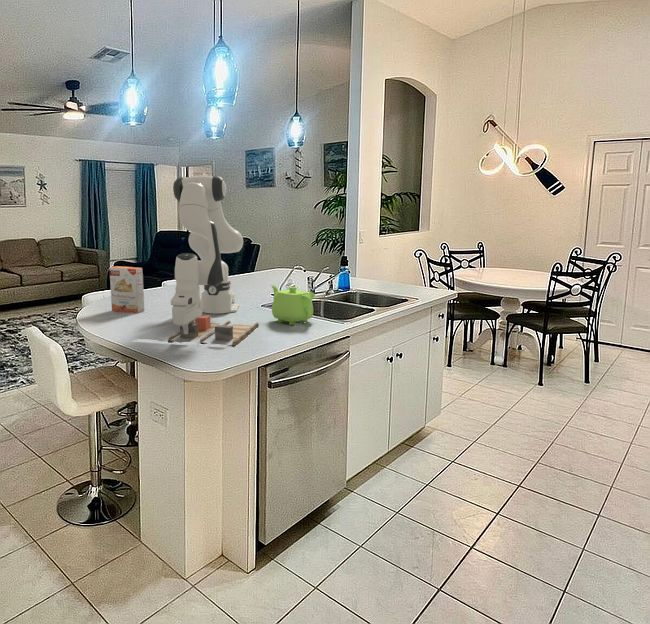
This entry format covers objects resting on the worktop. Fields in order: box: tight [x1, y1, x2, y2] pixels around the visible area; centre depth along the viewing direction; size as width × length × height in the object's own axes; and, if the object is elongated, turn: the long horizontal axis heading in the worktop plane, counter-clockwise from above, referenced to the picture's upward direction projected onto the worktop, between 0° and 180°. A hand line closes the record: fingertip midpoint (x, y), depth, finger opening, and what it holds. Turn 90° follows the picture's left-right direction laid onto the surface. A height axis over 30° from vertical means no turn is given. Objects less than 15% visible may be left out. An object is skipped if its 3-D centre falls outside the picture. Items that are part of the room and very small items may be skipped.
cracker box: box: [109, 265, 145, 314], centre depth 256 cm, size 14×6×21 cm, turn 76°
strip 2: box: [212, 324, 252, 342], centre depth 218 cm, size 26×8×6 cm, turn 171°
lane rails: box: [168, 320, 260, 347], centre depth 219 cm, size 32×26×2 cm
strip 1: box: [176, 322, 220, 340], centre depth 220 cm, size 26×8×6 cm, turn 171°
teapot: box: [270, 284, 316, 326], centre depth 246 cm, size 25×22×16 cm
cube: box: [195, 314, 211, 330], centre depth 223 cm, size 5×5×5 cm
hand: (188, 332), depth 209 cm, fingers closed on strip 1, 3 cm apart
